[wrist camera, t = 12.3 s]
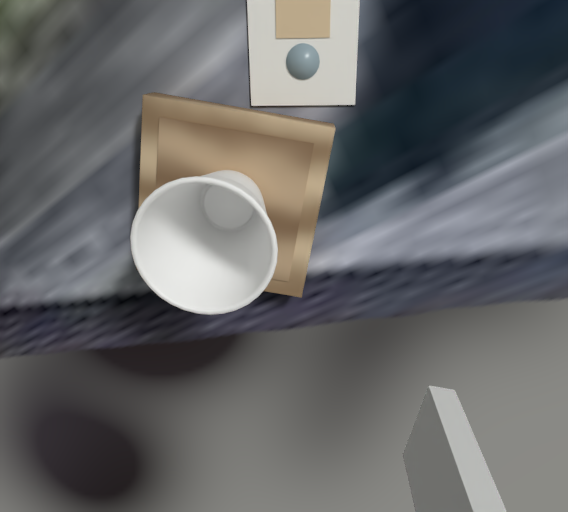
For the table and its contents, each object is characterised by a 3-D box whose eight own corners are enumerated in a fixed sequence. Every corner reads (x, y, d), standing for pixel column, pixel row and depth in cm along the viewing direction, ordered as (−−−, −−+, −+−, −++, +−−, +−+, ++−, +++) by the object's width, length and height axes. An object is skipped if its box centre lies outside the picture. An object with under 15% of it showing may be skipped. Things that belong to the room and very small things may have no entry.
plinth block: (154, 92, 40) (142, 94, 38) (333, 123, 41) (335, 128, 38) (146, 257, 47) (135, 270, 44) (302, 283, 47) (301, 298, 44)
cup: (206, 270, 43) (175, 334, 33) (153, 174, 40) (100, 213, 30) (303, 231, 41) (301, 286, 31) (256, 127, 38) (236, 151, 28)
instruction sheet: (245, -57, 36) (244, -58, 35) (361, -60, 35) (362, -61, 35) (251, 105, 40) (251, 105, 40) (354, 104, 40) (355, 104, 40)
